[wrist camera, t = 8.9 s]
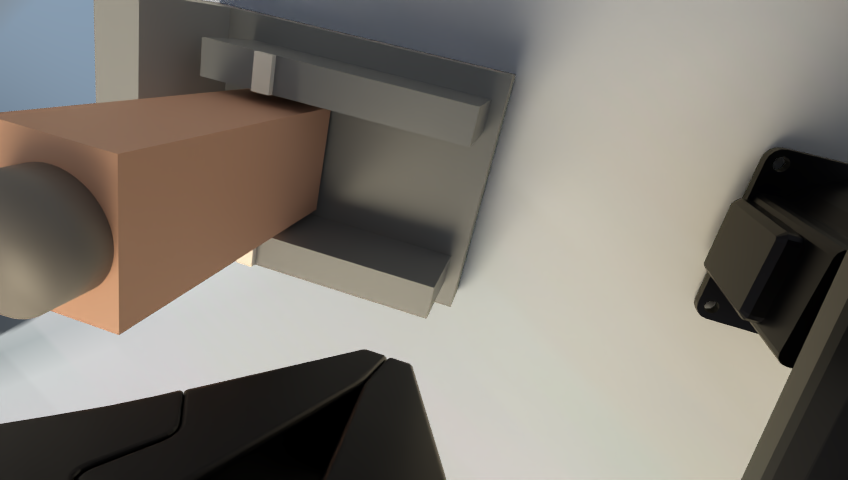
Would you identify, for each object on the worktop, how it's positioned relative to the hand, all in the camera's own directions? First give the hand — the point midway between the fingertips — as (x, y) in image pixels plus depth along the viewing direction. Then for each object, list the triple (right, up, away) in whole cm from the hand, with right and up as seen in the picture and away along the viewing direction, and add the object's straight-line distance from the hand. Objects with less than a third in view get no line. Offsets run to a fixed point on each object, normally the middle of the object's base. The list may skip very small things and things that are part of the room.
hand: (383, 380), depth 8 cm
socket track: (-3, +6, +13) cm, 14 cm away
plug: (-5, +6, +11) cm, 13 cm away
